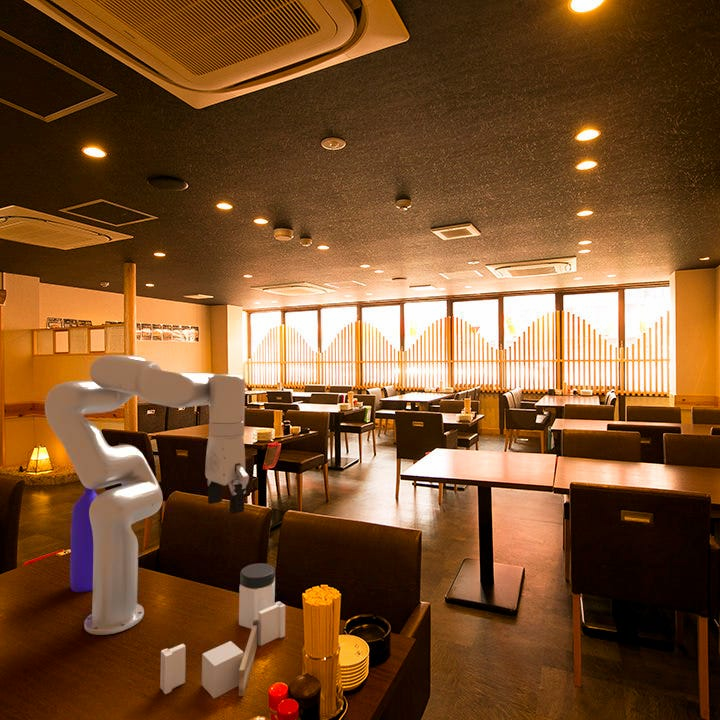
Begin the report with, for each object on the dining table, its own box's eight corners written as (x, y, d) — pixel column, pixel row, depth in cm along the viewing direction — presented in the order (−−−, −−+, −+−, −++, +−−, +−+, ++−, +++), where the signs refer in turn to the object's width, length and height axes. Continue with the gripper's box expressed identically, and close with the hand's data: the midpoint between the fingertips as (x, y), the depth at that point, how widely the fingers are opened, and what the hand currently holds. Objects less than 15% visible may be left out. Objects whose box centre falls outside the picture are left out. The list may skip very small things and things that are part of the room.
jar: (244, 634, 105) (245, 581, 105) (233, 617, 112) (234, 568, 112) (281, 622, 110) (281, 572, 110) (268, 607, 117) (268, 560, 117)
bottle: (84, 577, 132) (87, 473, 132) (111, 580, 130) (113, 474, 131) (62, 591, 123) (64, 480, 124) (90, 594, 122) (92, 481, 123)
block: (201, 685, 88) (202, 653, 88) (230, 670, 92) (230, 640, 92) (214, 698, 84) (214, 666, 85) (242, 683, 89) (243, 652, 89)
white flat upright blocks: (160, 687, 87) (161, 650, 87) (278, 631, 106) (279, 601, 106) (165, 694, 85) (166, 656, 85) (284, 636, 104) (285, 605, 104)
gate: (237, 696, 85) (238, 667, 85) (253, 643, 101) (253, 619, 101) (244, 695, 85) (244, 667, 85) (258, 643, 101) (258, 619, 101)
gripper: (193, 427, 105) (191, 502, 104) (230, 436, 92) (229, 521, 92) (223, 424, 110) (222, 496, 110) (262, 432, 98) (261, 513, 97)
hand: (225, 507), depth 101 cm, fingers open, 9 cm apart
